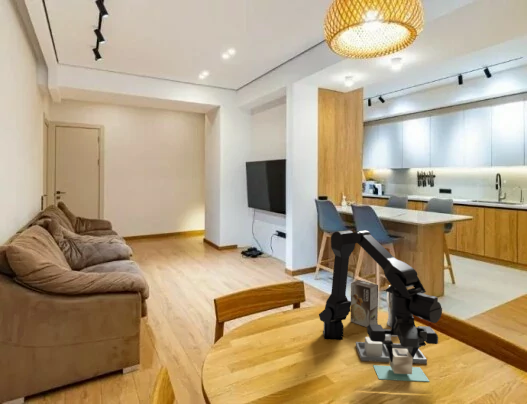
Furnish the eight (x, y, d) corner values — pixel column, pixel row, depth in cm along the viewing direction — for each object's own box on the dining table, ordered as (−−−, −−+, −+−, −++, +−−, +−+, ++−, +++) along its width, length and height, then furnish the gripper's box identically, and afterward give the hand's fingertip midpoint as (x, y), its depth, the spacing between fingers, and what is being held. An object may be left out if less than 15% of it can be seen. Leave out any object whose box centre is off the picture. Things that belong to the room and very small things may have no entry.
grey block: (367, 356, 110) (368, 343, 110) (364, 349, 114) (365, 336, 114) (382, 357, 109) (382, 344, 109) (378, 350, 114) (378, 337, 114)
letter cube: (394, 373, 98) (394, 356, 98) (389, 363, 103) (389, 347, 103) (412, 374, 98) (412, 357, 97) (406, 364, 103) (406, 348, 102)
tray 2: (395, 363, 107) (395, 357, 107) (386, 348, 116) (386, 343, 116) (426, 364, 106) (427, 359, 106) (415, 349, 116) (415, 344, 115)
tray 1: (361, 361, 108) (361, 356, 107) (355, 346, 117) (355, 341, 117) (392, 363, 107) (392, 357, 107) (384, 348, 116) (384, 343, 116)
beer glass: (406, 329, 131) (407, 291, 130) (387, 327, 132) (388, 290, 131) (402, 322, 137) (403, 285, 136) (384, 320, 139) (385, 284, 138)
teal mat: (379, 380, 98) (379, 378, 98) (373, 367, 105) (373, 365, 105) (429, 383, 97) (429, 381, 97) (420, 369, 104) (420, 367, 103)
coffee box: (378, 324, 135) (379, 284, 134) (369, 328, 131) (371, 288, 130) (358, 317, 142) (358, 279, 141) (349, 321, 138) (350, 282, 137)
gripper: (376, 320, 92) (374, 376, 93) (448, 323, 90) (445, 379, 92) (367, 305, 103) (365, 354, 104) (431, 307, 102) (429, 357, 103)
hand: (400, 361), depth 100 cm, fingers closed on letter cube, 5 cm apart
